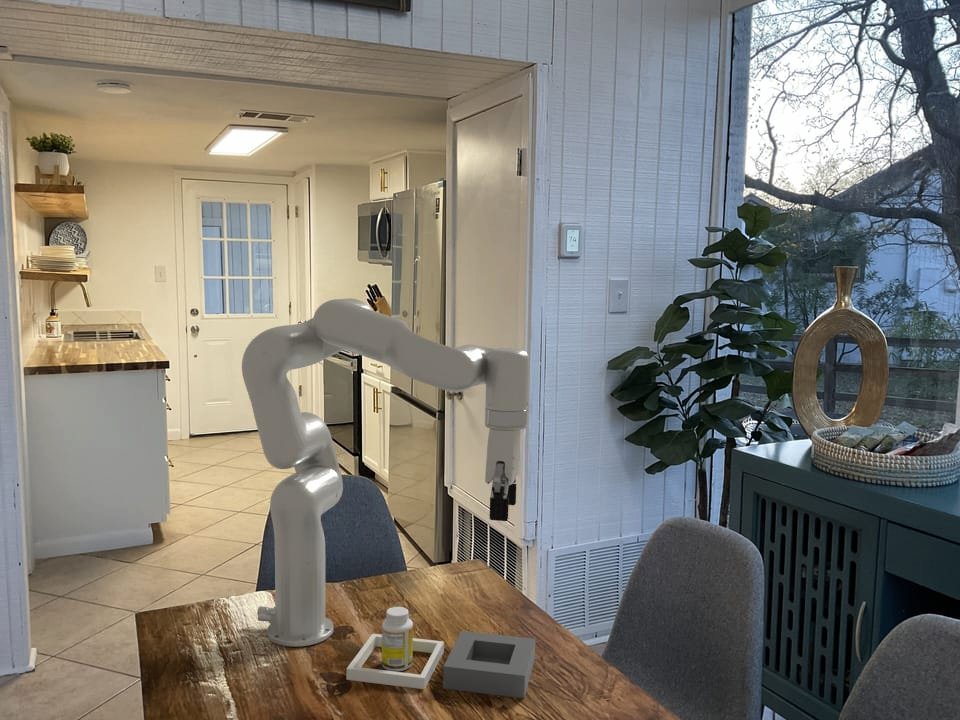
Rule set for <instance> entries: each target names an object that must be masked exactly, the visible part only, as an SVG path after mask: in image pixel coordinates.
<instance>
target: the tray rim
mask: <svg viewBox="0 0 960 720" xmlns="http://www.w3.org/2000/svg"><path fill="white" fill-rule="evenodd" d="M375 648H382V633H380V634H378V633H372V634H371V635H370V636H369V638H368V639H367V640H366V642H365V643H364V644H363V645H362V647H361V648H360V650H359V651H358V653H357V654H356V655H355V656H354V658H353V659H352V661H351V662H350V663H349V665H348V666H347V668H346V680H348V681H355V682H361V683H362V682H364V683H371V684H379V685H387V686H388V685H389V686H395V687H402V688H403V687H404V688H411V689H419V690H426V687H428V683H429V681H430V680H431V677H432V676H433V674H434V672H435V669H436V668H437V666H438V664H439V662H440V661H441V658H442V657H443V654H444V652H445V641H440V640H433V639H423V638H415V637H413V652H421V653H428V654H429V653H430V654H431V655H430V656H429V659H428V661H426V663H425V665H424V667H423V670H422V671H421V673H420V674H417V673H411V672H410V673H409V672H408V673H407V672H402V671H389V670H387V669H385V670H384V669H377V668H367V667H363V665H364V664H365V663H366V662H367V659H368V658H369V657H370V656H371V654H372V653H373V651H374V650H375Z"/></svg>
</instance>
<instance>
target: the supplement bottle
mask: <svg viewBox="0 0 960 720" xmlns="http://www.w3.org/2000/svg"><path fill="white" fill-rule="evenodd" d="M385 614H386V616H385V619H384V620H383V621H382V623H381V635H382V647H381V665H382V667H383V668H384V669H385V670H386V671H394V672H402V671H406V670H407V669H410V668H411V667H412V665H413V663H414V662H413V661H414V660H413V659H414V658H413V653H414V651H413V638H414V634H413V633H414V622H413V621H412V620H411V618H409V617H410V616H409V615H410V614H409V610H408V609H407V608H406V607H403V606H393V607H390V608H388V609H386V613H385Z"/></svg>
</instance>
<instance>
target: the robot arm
mask: <svg viewBox="0 0 960 720" xmlns="http://www.w3.org/2000/svg"><path fill="white" fill-rule="evenodd" d="M344 350H345V351H348V352H351V353H353V354H357V355H359V356H362V357H366V358H368V359H371V360H373V361H377V362H379V363H382V364H384V365H387V366H388V367H390V368H391V369H393V370H395V371H397V372H399V373H400V374H402V375H404V376H406V377H407V378H410V379H413V380H415V381H417V382H420V383H423V384H425V385H429V386H430V387H434V388H438V389H441V390H443V391H448V392H453V393H461V392H466V391H468V390H470V389H471V388H473V387H477V386H481V385H485V406H484V411H485V412H484V427H485V428H488V429H489V431H488V438H487V447H486V459H485V460H486V462H485V463H486V464H485V477H484V478H485V479H484V482H485V483H486V484H487V485H489V484H490V483H491V489H490V497H489V520H491V521H499V522H500V521H501V522H508V519H509V506H515V505H516V504H517V483H516V482H517V476H518V474H519V468H520V456H521V454H520V453H521V436H522V435H521V432H522V431H521V430H525V429H527V427H528V408H529V406H528V404H529V379H530V356H529V354H528V352H527V351H526V350H523V349H520V348H519V349H518V348H512V347H510V348H507V347H502V348H493V347H486V346H482V345H476V344H464V345H460V346H458V347H451V346H448V345H445V344H442V343H440V342H437V341H433V340H430V339H428V338H425V337H424V336H423V337H422V335H421V336H420V335H419V334H417V333H416V332H414V331H413V330H411V329H410V328H409V326H408V324H407V323H406V322H405V321H404V320H402V319H400V318H396V317H393V316H390V315H387V314H384V313H381V312H378V311H375V310H372V309H371V308H370V306H369V305H368V304H367V303H365V302H364V301H362V300H360V299H356V298H335V299H330V300H328V301H325V302H323V303H322V304H321V305H319V306H318V307H317V308H316V310H315V312H314V314H313V317H312V318H309V319H308V320H306V321H304V322H301V323H297V324H285V325H280V326H275V327H272V328H269V329H266V330H264V331H262V332H260V333H259V334H257V335H256V336H255V337H254V338H253V339H252V340H251V341H250V342H249V343H248V345H247V347H246V348H245V350H244V353H243V356H242V360H241V373H242V379H243V381H244V385H245V389H246V392H247V394H248V397H249V400H250V403H251V408H252V411H253V412H252V413H253V417H254V420H255V424H256V428H257V432H258V435H259V436H258V437H259V440H260V444H261V447H262V451H263V453H264V457H265V459H266V461H267V462H268V463H269V464H270V466H272V467H274V468H275V469H277V470H278V469H279V470H288V469H292V468H294V471H295V472H294V473H293V474H290V475H289V476H287V477H286V478H284V479H282V480H281V481H280V482H279V483H278V484H277V485H276V486H275V488H274V489H273V490H272V493H271V495H270V496H271V497H270V501H269V509H270V510H269V512H270V516H271V521H272V527H273V536H274V571H275V572H274V582H275V583H274V584H275V585H274V586H275V587H274V592H275V593H274V594H275V596H274V603H275V606H274V607H269V606H259V607H258V609H257V614H256V615H257V621H258V622H268V623H269V625H268V627H267V629H266V633H267V636H266V637H267V639H269V641H271V642H272V643H274V644H276V645H280V646H283V647H293V648H295V647H308V646H312V645H316V644H320V643H322V642H324V641H326V640H327V639H328V638H329V637H331V636H332V635H333V633H334V623H333V621H332V620H331V619H330V618H328V617H326V538H325V534H324V533H325V532H324V528H323V525H322V520H321V519H322V518H321V517H322V515H323V514H325V513H326V512H327V511H328V510H330V509H332V508H333V507H334V506H335V505H336V504H337V503H338V502H339V501H340V499H341V497H342V494H343V491H344V483H343V477H342V473H341V472H342V471H341V469H340V465H339V461H338V456H337V453H336V449H335V445H334V441H333V438H332V435H331V431H330V429H329V427H328V426H327V424H326V422H325V421H324V420H323V419H322V418H321V417H320V416H318V415H317V414H314V413H312V412H307V411H305V412H303V411H302V410H301V408H300V405H299V402H298V397H297V393H296V391H295V389H294V387H293V385H292V383H291V381H290V380H289V379H288V376H287V374H288V373H289V372H290V371H291V370H292V371H293V370H298V369H301V368H306V367H310V366H314V365H315V364H318V363H320V362H322V361H324V360H325V359H328V358H330V357H332V356H334V355H335V354H338V353H340V352H341V351H344Z"/></svg>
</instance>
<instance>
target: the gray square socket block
mask: <svg viewBox="0 0 960 720" xmlns="http://www.w3.org/2000/svg"><path fill="white" fill-rule="evenodd" d="M535 660H536V638H531V637H522V636H521V637H520V636H513V635H502V634H495V633H484V632H477V631H476V632H474V631H466V630H461V631H460V632H459V635H457V638H456V640H455V642H454V643H453V646H452V647H451V651H450V652H449V654H448V656H447V659H446V660H445V662H444V664H443V672H442V673H443V675H442V679H443V680H442V688H443V689H444V690H451V691H462V692H468V693H478V694H486V695H491V696H493V695H494V696H502V697H509V698H516V699H525V697H526V695H527V691H528V686H529V682H530V678H531V674H532V672H533V667H534V665H535Z"/></svg>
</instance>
